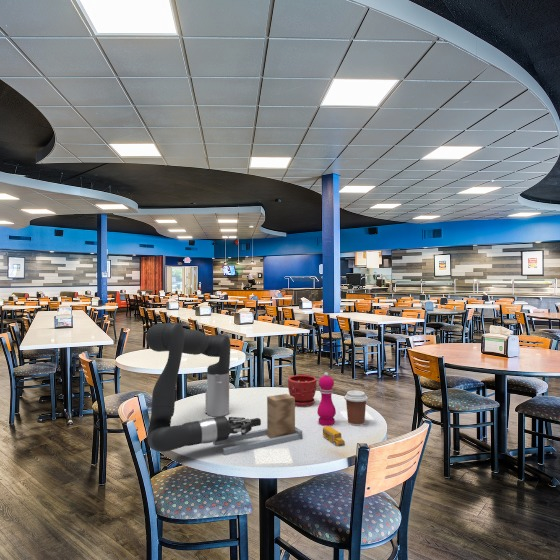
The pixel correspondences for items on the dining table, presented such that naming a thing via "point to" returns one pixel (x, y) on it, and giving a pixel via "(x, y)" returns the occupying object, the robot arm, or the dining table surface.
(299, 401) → the plant pot
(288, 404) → the walnut block
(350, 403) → the coffee cup
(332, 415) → the pepper mill
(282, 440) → the trap channel
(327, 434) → the toy bus
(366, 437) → the dining table surface
